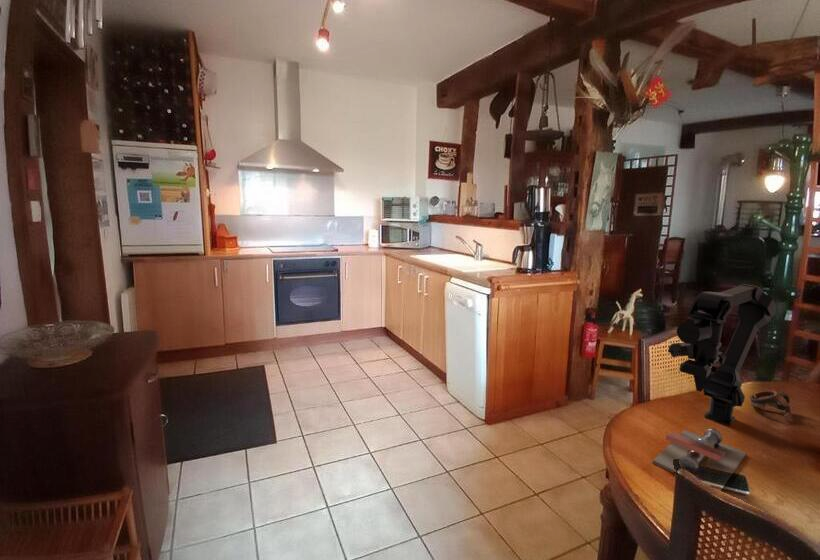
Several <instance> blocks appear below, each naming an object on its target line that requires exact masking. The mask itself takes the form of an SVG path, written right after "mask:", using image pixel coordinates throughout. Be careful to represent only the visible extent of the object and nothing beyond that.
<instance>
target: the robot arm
mask: <svg viewBox="0 0 820 560" xmlns="http://www.w3.org/2000/svg"><path fill="white" fill-rule="evenodd" d="M734 307H736V308H737V310H736V315H737V318H738V324H737V326H736V329H735V330H734V333H733V336H732V338H731V340H730V342H729V344H728V346H727V349H726V351H725V353H724V352H722V351H719V350H720V348H721V347H722V343H723V342H721V339H722V333H723V327H724V323H726V322H727V317H728V316H729V315H730V314H731V313H732V311H733V308H734ZM776 312H777V305H776V303H775V300H774V299H773V298H772V297H771V296H769V295H768V294H767V293H766V292H764V290H763V289H762V287H759V286H757V285H750V284H747V283H745V284H744V283H741V284H738V285H737V286H735V287H732V288H729V289H726V290H723V291H720V292H719V291H718V292H717V291H702V292H701V293H699V294H698V295H697V296H696V297H695V299H694V301H693V303H692V305H691V306H690V308H689V310H688V311H687V313H686V317H687V318H686V320H685V322H682V323H680V324H679V325H678V326H677V328H676V335H677V337H678V339H679V340H680V341H681V342H676V343H670V345H669V346H668V350H667V352H668V353H669V354H670V356H671V357H672V358H676V357H687V360H684V361H682V362H681V363H680V364H679V372H681V373H683V374H687V375H691V376H693V379H694V385H695V389H696V391H697V392H702V391H703V395H704V396H707V397H709V398H710V400H709V401H710V402H709V407H708V411H707V412H706V413H704V415H703V417H704V418H707V419H709V420H712V421H715V422H718V423H721V424H725V425H726V426H727V425H728V426H730V425H732V424H733V422H734V421H735V420H736V417H735V416H733V413H734V408H735V407H742V406H743V403H744V402H745V399H746V397H745V394H744V392H743V391H742V384H743V383H742V379H741V376H740V371H741V369H742V367H743V365H744V362H745V360H746V358H747V356H748V353H749V351H750V348H751V346H752V345H753V342H754V339H755V337H756V335H757V333H758V330H759V329H761V328H762V327H764V326H767V324H769V323H770V321H771V319H772V317H774V316H775V314H776ZM717 362H719V365H718V366H714V364H716V363H717Z"/></svg>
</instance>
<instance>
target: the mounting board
mask: <svg viewBox="0 0 820 560" xmlns="http://www.w3.org/2000/svg"><path fill="white" fill-rule="evenodd" d="M679 434H680V435H682V436H685V437H687V438H690V439H693V440H694V439H697V438H701V439H702V438H703V437H704V436H703V435H700V434H698V433H695V432H692V431H690V430H687V429H684V430H683V431H682V432H681V433H679ZM719 445H720V447H719V448H718V450H721V451H723V452H726V453H725V457H724V458H723V459H721V460H720V461H717V460H715V459H712V460H711V461H710V462H709V464H708V465H707V466H706V465H704V464H701V463H699V465H703V466H706V467H711V468H715V469H718V470H723V471H726V472H731V473H735V472H736V470H737V469H738V467H740V465H741V464H742V462H743V460H744V459H745V457H746V456H747V452H746V451H744V450H743V451H742V450H740V449H737V448H735V447H732V446H730V445H727V444H725V443H722V442H720V443H719ZM687 450H688V448H685V447H683V446H680V445H678V444H675V443H673V442H670V443H669V445H667V446H666V447H665V448H664V449H663V450H662V451H661V452H660V453H659V454H658V455H657V456H656V457H655V458H654V459H653V460H652V464H653V465H655V466H658V467H659V468H662V469H664V470H667V471H668V472H671V473H673V474H675V473H674V472H676V470H675V469H674V465H673V460H674V459H680V458H681V457H682V456H684V455H687ZM692 474H693V473H692ZM695 476H696V477H697V478H699V477H698V475H695ZM699 479H700V478H699ZM702 481H703V480H702ZM715 488H716V487H715ZM719 489H720V490H722V488H719ZM722 491H723V490H722Z"/></svg>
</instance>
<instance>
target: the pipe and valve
mask: <svg viewBox="0 0 820 560" xmlns="http://www.w3.org/2000/svg"><path fill="white" fill-rule="evenodd" d="M703 435H704V437H703V438H702V439H704V440H706V441H708V443H707V445H708V446H711V447H713V448H716V449H718V448H719V447H720V445H719V443H722V441H723V435H722V433H721V432H720V431H719V430H717V429H715V428H707V429H706V430H705V431H704V434H703ZM694 440H695V439H694ZM711 460H712V458H710V457H707V456H705V455H702V454H700V453H698V452H695V451H693V450H690V449H688V450H687V455H684V456H682V457H681V458H680V460H679V464H680V466H681V468H682V467H684V468H683V469H685V468H687V469H686V470H688V471H689V472H691V473H694V472H696V471H697V470H698V468H699V463H701V464H704V465H706V466H707V465H708V464H709V462H710V461H711Z"/></svg>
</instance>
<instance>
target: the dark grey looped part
mask: <svg viewBox="0 0 820 560" xmlns="http://www.w3.org/2000/svg"><path fill="white" fill-rule="evenodd" d="M749 399H750V406H751V407H753V408H754V407H755V408H760V409H762V410H766V405H768V406H770V407H773V408H776V409H777V410H781V411H785V414H783V418H785V419H784V420H785V422H786V423H788V422H790V421H791V420H792V419H793V417H792V416H793V415H792V412H791V408H790V406H791V405H790V396H789V395H788V394H787V393H785V392H777V391H775V390H763V391H762V390H761V391H758V392H756V393H754V394H753V395H751V396H749Z"/></svg>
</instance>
